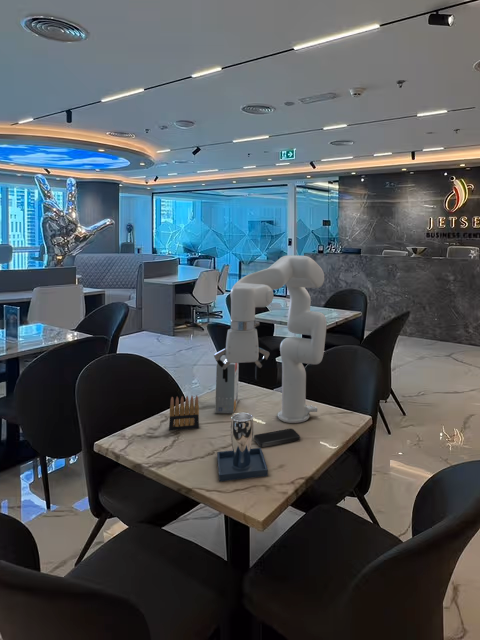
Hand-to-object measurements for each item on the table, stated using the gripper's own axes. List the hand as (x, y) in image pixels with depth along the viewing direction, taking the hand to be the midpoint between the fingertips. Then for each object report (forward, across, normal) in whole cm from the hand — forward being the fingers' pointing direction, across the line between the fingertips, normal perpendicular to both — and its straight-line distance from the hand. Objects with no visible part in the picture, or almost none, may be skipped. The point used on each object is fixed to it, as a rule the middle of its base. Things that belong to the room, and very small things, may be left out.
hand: (241, 380), depth 138 cm
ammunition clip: (+26, +18, -30) cm, 44 cm away
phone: (+26, -14, -14) cm, 33 cm away
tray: (+26, 0, +2) cm, 26 cm away
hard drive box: (+26, +1, -48) cm, 55 cm away
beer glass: (+26, 0, +2) cm, 26 cm away
